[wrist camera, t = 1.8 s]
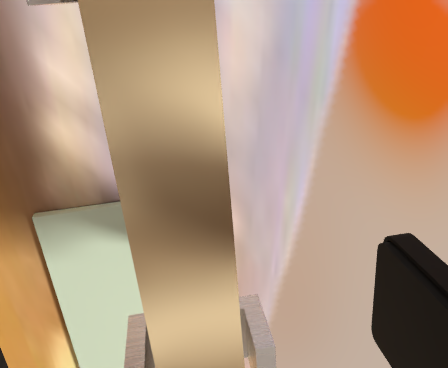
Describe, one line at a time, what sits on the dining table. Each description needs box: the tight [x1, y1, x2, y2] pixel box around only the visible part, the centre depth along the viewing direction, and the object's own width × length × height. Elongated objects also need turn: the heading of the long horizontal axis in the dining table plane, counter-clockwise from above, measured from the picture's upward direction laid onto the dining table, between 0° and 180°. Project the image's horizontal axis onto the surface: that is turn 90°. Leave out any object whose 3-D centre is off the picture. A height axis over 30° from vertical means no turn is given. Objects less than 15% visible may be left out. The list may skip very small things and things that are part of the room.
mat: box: [32, 201, 144, 368], centre depth 31 cm, size 23×6×1 cm, turn 5°
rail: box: [78, 0, 245, 368], centre depth 14 cm, size 22×3×4 cm, turn 4°
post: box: [124, 294, 276, 368], centre depth 23 cm, size 5×6×13 cm
